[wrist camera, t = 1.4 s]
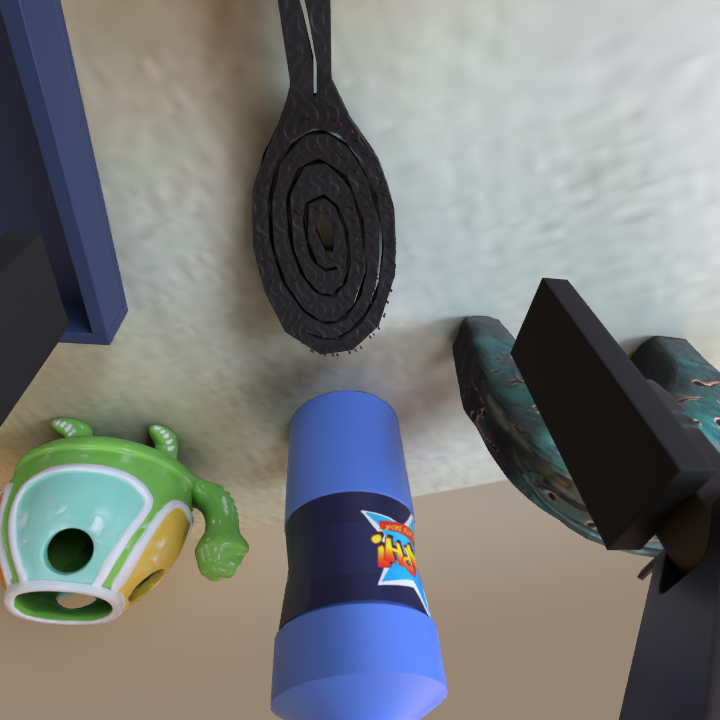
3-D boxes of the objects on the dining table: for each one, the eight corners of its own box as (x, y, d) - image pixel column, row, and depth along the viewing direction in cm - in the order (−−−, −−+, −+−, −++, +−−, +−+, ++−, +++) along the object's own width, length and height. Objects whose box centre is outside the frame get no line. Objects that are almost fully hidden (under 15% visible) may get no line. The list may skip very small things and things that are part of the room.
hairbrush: (416, -310, 14) (400, 358, 29) (400, -258, 17) (393, 325, 32) (134, -303, 14) (266, 367, 29) (167, -251, 17) (271, 333, 32)
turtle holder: (248, 512, 46) (231, 648, 37) (42, 495, 42) (-32, 642, 33) (266, 429, 39) (250, 574, 30) (17, 399, 35) (-88, 555, 26)
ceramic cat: (714, 329, 35) (1018, 614, 20) (662, 392, 39) (881, 669, 24) (462, 293, 31) (597, 608, 16) (433, 366, 36) (520, 672, 20)
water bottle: (359, 371, 35) (408, 853, 16) (420, 436, 41) (510, 857, 22) (264, 423, 38) (211, 883, 19) (332, 477, 44) (343, 880, 25)
